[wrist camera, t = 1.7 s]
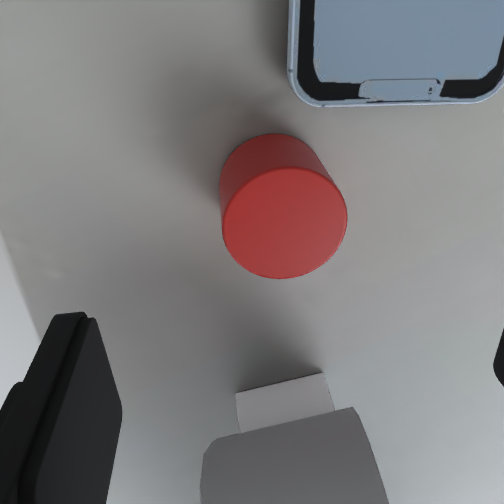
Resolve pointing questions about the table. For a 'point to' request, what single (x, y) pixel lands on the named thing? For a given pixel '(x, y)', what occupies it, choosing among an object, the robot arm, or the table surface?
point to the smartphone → (395, 51)
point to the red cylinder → (279, 207)
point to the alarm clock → (292, 451)
